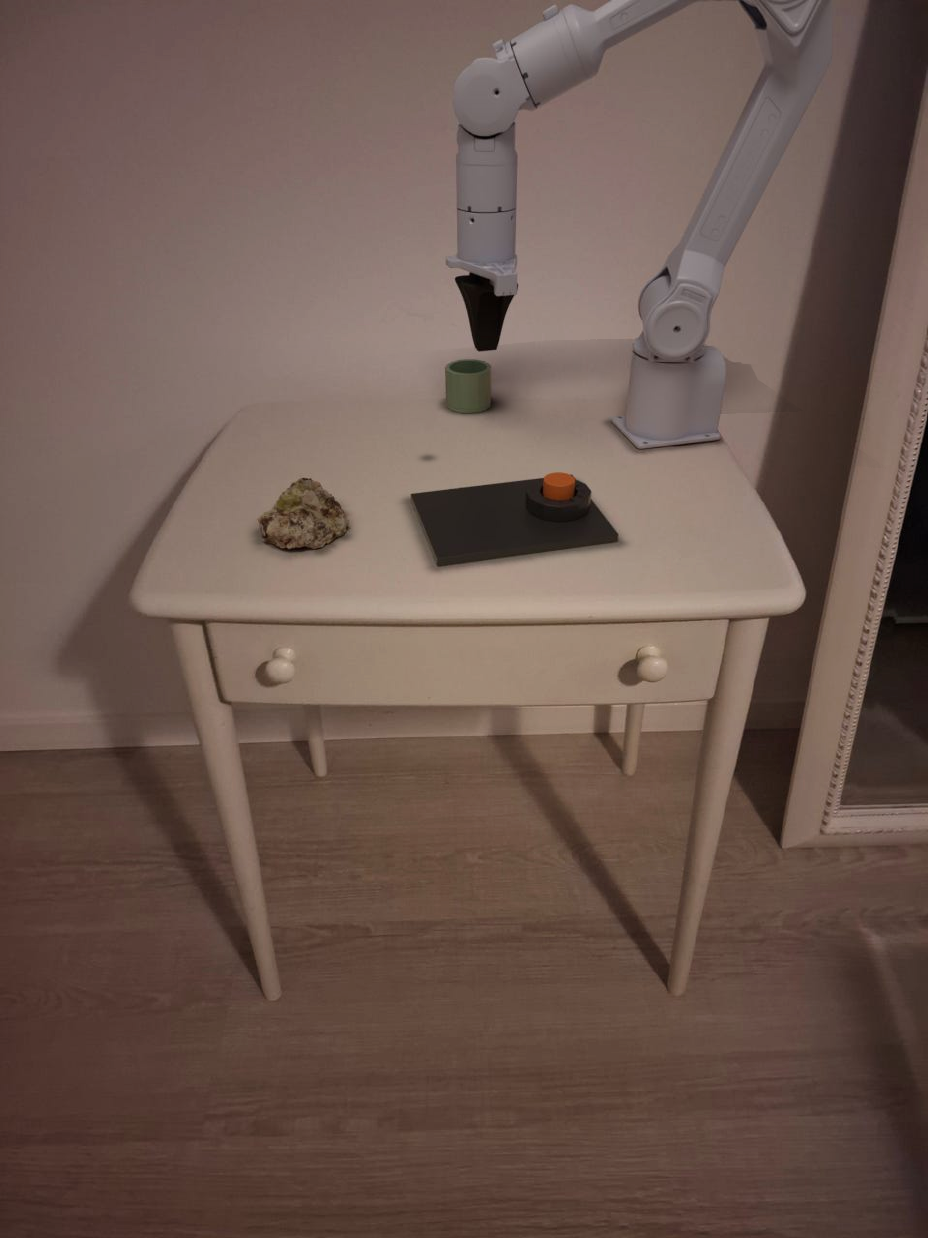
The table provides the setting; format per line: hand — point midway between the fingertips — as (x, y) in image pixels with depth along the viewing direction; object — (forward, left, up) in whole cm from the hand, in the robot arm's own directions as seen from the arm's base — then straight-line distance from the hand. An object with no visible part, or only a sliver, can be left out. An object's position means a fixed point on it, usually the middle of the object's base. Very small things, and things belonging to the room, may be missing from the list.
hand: (485, 348), depth 91 cm
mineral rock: (+21, +17, -9) cm, 29 cm away
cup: (0, -7, -9) cm, 11 cm away
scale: (+3, +21, -9) cm, 23 cm away
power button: (-1, +21, -7) cm, 22 cm away
